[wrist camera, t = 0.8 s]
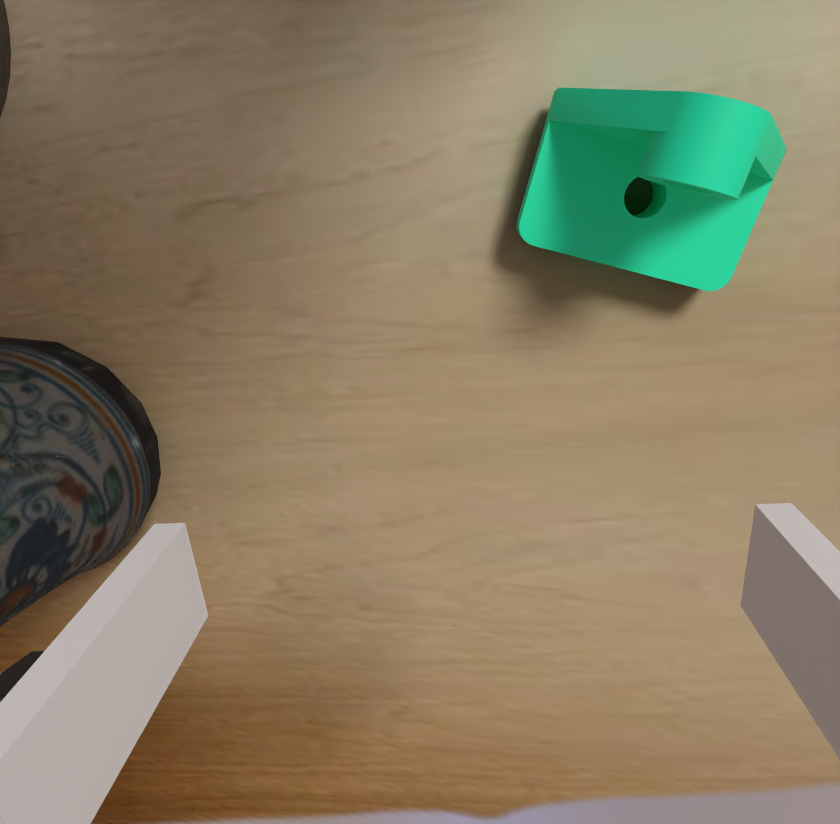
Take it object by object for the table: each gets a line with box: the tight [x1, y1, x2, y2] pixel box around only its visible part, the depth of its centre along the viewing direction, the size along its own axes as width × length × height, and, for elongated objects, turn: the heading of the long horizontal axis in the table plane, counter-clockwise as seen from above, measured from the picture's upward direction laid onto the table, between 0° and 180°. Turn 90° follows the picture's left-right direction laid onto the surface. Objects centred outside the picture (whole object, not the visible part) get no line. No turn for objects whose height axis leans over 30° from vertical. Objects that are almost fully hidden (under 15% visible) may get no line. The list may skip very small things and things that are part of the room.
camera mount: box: [517, 88, 786, 291], centre depth 30 cm, size 12×8×10 cm, turn 76°
